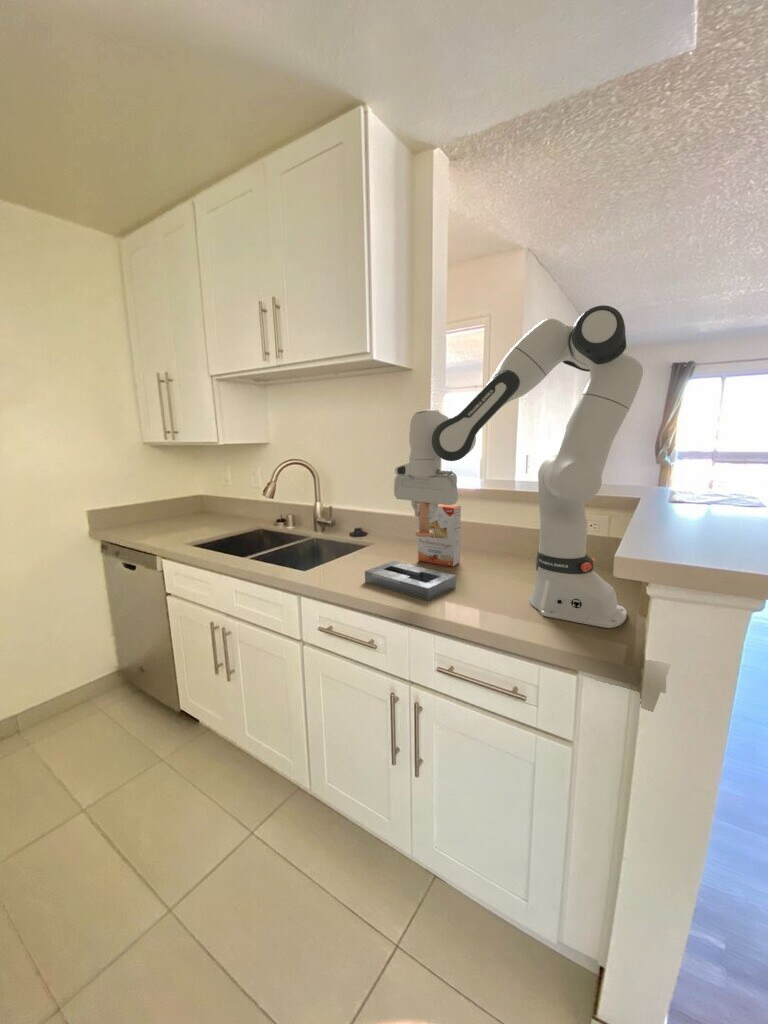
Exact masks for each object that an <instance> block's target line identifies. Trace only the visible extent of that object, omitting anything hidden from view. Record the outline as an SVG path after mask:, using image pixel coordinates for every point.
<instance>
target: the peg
mask: <svg viewBox="0 0 768 1024" xmlns="http://www.w3.org/2000/svg"><path fill="white" fill-rule="evenodd" d="M418 505H419V530H418V529H417V530H416V531H415V536H416V537H418V536H419V537H430V536H433V531H431V530H430V518H427V512H430V503H427V502H419V504H418Z"/></svg>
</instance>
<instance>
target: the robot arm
mask: <svg viewBox="0 0 768 1024" xmlns="http://www.w3.org/2000/svg"><path fill="white" fill-rule="evenodd" d="M626 336H627V335H626V326H625V320H624V318H623V315H622V314H621V312H620V311H619V310H617V309H616V308H615V307H613V306H610V305H602V304H601V305H598V306H597V305H596V306H592V307H591V308H589V309H587V310H585V311H584V312H583V313H582V314H581V315H580V316H579V317H578V318H577V319H576V321H575V322H574V325H572V326H569V325H566V324H565V323H564V322H562V321H561V320H558V319H555V318H546V319H543V320H542V321H541V322H539V323H538V324H537V325H535V326H534V327H533V328H532V329H530V330H529V331H528V332H527V333H525V335H523V337H521V339H520V340H518V342H517V343H515V344H514V346H513V347H512V348H511V349H510V351H509V352H508V353H507V354H506V355H505V356H504V358H503V359H502V360H501V362H500V363H499V365H498V366H497V367H496V369H495V370H494V373H493V374H492V376H491V378H490V379H489V381H488V382H487V384H486V385H485V386H484V387H483V389H481V391H480V392H479V393H477V395H476V396H475V397H474V398H473V399H472V400H471V401H470V402H469V403H468V404H467V406H466V407H464V408H463V409H462V410H461V411H460V412H459V413H458V414H457V415H455V416H454V417H449V416H448V415H446V414H444V413H442V412H441V411H440V410H438V409H435V408H431V409H424V410H420V411H417V412H415V413H414V414H413V416H412V417H411V419H410V424H409V435H408V436H409V437H408V439H409V444H408V445H409V446H410V452H409V457H408V458H409V459H408V460H409V461H408V462H407V463H405V464H401V465H399V466H396V467H395V469H394V474H396V476H395V477H394V483H393V484H394V485H393V494H394V497H395V498H396V500H404V501H410V502H411V507H412V509H413V511H414V516H415V517H416V518H418V517H419V502H427V503H430V507H432V508H431V510H430V512H427V518H430V519H433V518H434V517H435V511H436V510H437V508H438V504H443V505H456V504H457V502H458V501H459V497H458V496H459V495H458V493H459V492H458V487H457V484H458V483H457V482H458V481H457V480H458V477H457V475H456V473H454V472H453V470H445V469H442V466H441V465H442V460H444V461H448V462H456V461H459V460H461V459H463V458H464V457H466V456H467V455H468V454H469V453H471V452H472V450H473V449H474V447H475V445H476V440H477V437H476V435H477V434H478V432H479V431H480V430H481V429H482V428H483V427H484V426H485V425H486V424H487V422H489V421H490V420H491V418H492V417H493V416H494V415H495V414H496V413H497V412H498V411H499V410H500V409H501V408H503V407H504V406H505V405H506V404H508V403H510V402H511V401H513V400H516V399H518V398H522V397H523V396H525V395H526V394H528V393H529V392H530V391H531V390H532V391H533V389H534V388H536V387H537V385H539V384H540V383H541V382H542V381H543V380H544V379H545V378H546V377H547V376H548V375H549V373H551V372H552V370H554V369H555V368H556V367H557V366H558V365H559V364H561V363H563V364H565V365H567V366H569V367H573V368H575V369H578V370H580V371H582V372H588V373H589V377H588V381H587V384H586V386H585V388H584V389H583V391H582V393H581V395H580V398H579V399H578V401H577V404H576V406H575V408H574V410H573V412H572V413H571V415H570V417H569V420H568V421H567V424H566V425H565V432H564V436H563V439H562V442H561V445H560V448H559V451H558V453H557V454H555V455H552V456H551V457H548V458H547V459H546V460H544V461H543V462H542V463H541V465H540V466H539V469H538V472H537V480H538V486H537V487H538V506H539V507H538V508H539V517H540V518H539V521H540V522H539V541H538V543H539V545H538V550H537V552H536V559H535V560H536V561H535V567H536V568H535V569H536V577H535V583H534V587H533V590H532V593H531V597H530V599H529V603H530V605H531V606H532V607H533V608H535V609H537V610H538V611H539V613H540V614H541V615H542V616H544V617H548V618H553V619H557V620H563V621H569V622H574V623H579V624H585V625H589V626H594V627H601V628H605V629H613V628H616V627H619V626H621V625H622V624H623V623H624V622H625V621H626V620H627V615H628V614H627V609H626V608H625V607H623V606H622V605H619V604H618V599H617V593H616V590H615V588H614V587H613V586H612V585H611V584H609V583H608V582H607V581H606V580H604V578H602V577H601V576H600V575H598V573H596V572H595V571H594V568H595V566H594V564H595V560H596V558H595V557H593V558H591V557H590V556H589V555H587V538H588V529H589V527H588V520H587V517H586V511H585V502H588V501H591V500H592V499H593V498H595V496H596V495H597V494H598V493H599V492H600V489H601V487H602V482H603V481H602V480H603V478H602V475H603V472H604V469H605V467H606V464H607V460H608V456H609V454H610V450H611V447H612V445H613V442H614V440H615V438H616V436H617V434H618V432H619V430H620V428H621V426H622V424H623V423H624V420H625V418H626V417H627V415H628V413H629V410H630V408H631V407H632V405H633V403H634V401H635V398H636V397H637V396H636V395H637V393H638V390H639V388H640V385H641V382H642V379H643V374H644V368H643V366H642V364H641V363H640V361H638V359H636V358H635V357H632V356H629V355H627V354H625V353H624V352H625V350H626V349H627V337H626Z"/></svg>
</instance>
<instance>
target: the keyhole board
mask: <svg viewBox="0 0 768 1024" xmlns="http://www.w3.org/2000/svg"><path fill="white" fill-rule="evenodd" d="M364 582H365V584H366V583H367V584H370V585H372V586H376V587H379V588H383V589H385V590H386V589H388V590H390V591H394V592H397V593H399V594H403V595H407V596H409V597H414V598H417V599H419V600H422V601H427V602H429V601H431V600H434V599H435V598H438V597H439V596H442V595H443V594H445V593H447V592H449V591H451V590H452V589H455V588H456V585H457V575H455V574H451V573H447V572H442V571H439V570H434V569H430V568H426V567H421V566H417V565H413V564H411V563H410V564H409V563H404V562H401V561H397V560H393V561H389V562H387V563H384V564H381V565H379V566H376V567H372V568H370V569H366V570H365V571H364Z"/></svg>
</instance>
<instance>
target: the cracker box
mask: <svg viewBox="0 0 768 1024" xmlns="http://www.w3.org/2000/svg"><path fill="white" fill-rule="evenodd" d="M461 507H462V506H461V505H456V504H453V505H443V504H438V508H437V510H436V511H435V517H434V518H433V519H430V530H431V531H433V536H430V537H419V536H417V539H418V540H417V546H418V547H417V549H418V550H417V555H418V558H417V560H418V561H419V562H425V563H428V564H429V563H430V564H434V565H439V566H440V565H441V566H446V567H451V568H453V567H455V566H457V565H458V564H460V563H461V562H460V561H461V519H462V518H461V511H462V509H461ZM431 508H432V507H430V510H431ZM417 518H418V520H417V525H418V527H417V530H419V517H417Z"/></svg>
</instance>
